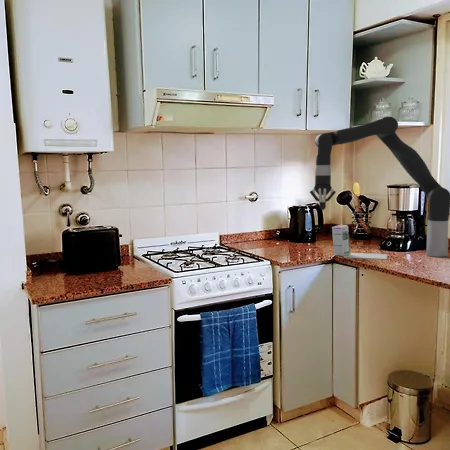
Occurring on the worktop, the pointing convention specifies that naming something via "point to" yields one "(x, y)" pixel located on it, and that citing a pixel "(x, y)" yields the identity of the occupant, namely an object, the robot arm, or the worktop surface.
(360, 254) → the grey mat
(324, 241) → the worktop surface
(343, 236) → the syrup box
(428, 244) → the robot arm
